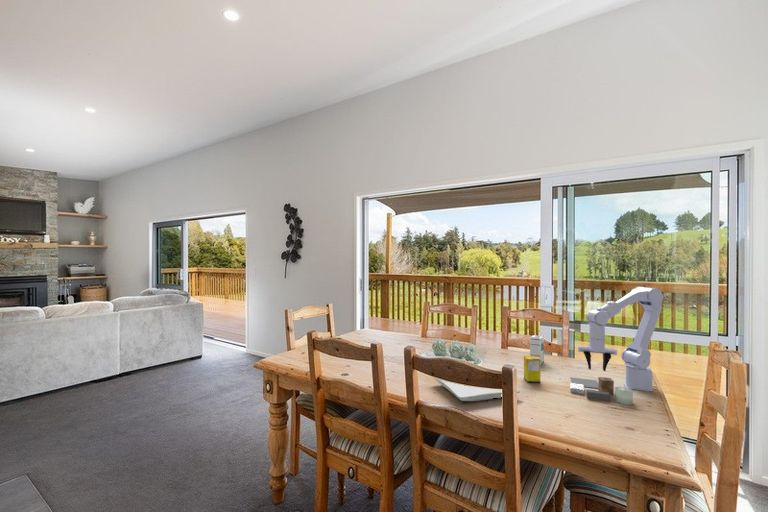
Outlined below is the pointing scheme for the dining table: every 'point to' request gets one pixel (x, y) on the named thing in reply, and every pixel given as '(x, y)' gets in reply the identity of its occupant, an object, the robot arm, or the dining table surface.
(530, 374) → the supplement box
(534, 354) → the syrup box
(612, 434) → the dining table surface
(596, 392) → the charcoal rubber bar
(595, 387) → the slate coaster
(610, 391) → the walnut block
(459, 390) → the square plate
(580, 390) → the grey topped wooden block
